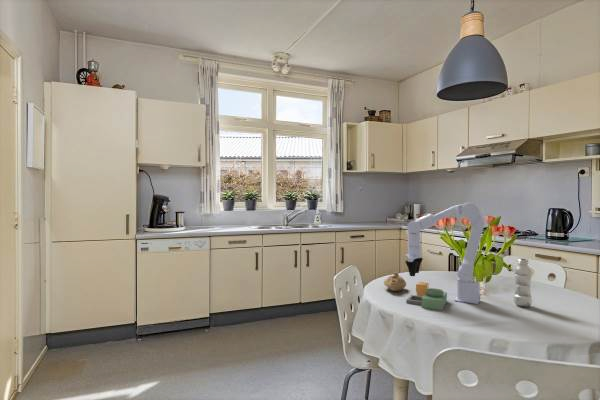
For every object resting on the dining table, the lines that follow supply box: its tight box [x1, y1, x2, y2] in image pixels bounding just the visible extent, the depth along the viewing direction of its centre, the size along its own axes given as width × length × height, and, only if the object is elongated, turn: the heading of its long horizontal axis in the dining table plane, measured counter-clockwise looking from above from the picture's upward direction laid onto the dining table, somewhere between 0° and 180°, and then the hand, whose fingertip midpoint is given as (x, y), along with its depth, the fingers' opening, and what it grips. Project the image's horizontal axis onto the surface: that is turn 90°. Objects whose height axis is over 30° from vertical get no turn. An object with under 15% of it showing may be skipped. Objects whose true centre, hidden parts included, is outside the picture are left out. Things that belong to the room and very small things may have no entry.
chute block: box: [415, 281, 430, 296], centre depth 168 cm, size 5×4×6 cm
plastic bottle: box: [513, 258, 533, 308], centre depth 153 cm, size 6×7×20 cm
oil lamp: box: [383, 271, 407, 292], centre depth 179 cm, size 11×15×8 cm
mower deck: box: [405, 287, 448, 311], centre depth 158 cm, size 15×14×6 cm
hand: (414, 274), depth 171 cm, fingers open, 7 cm apart
